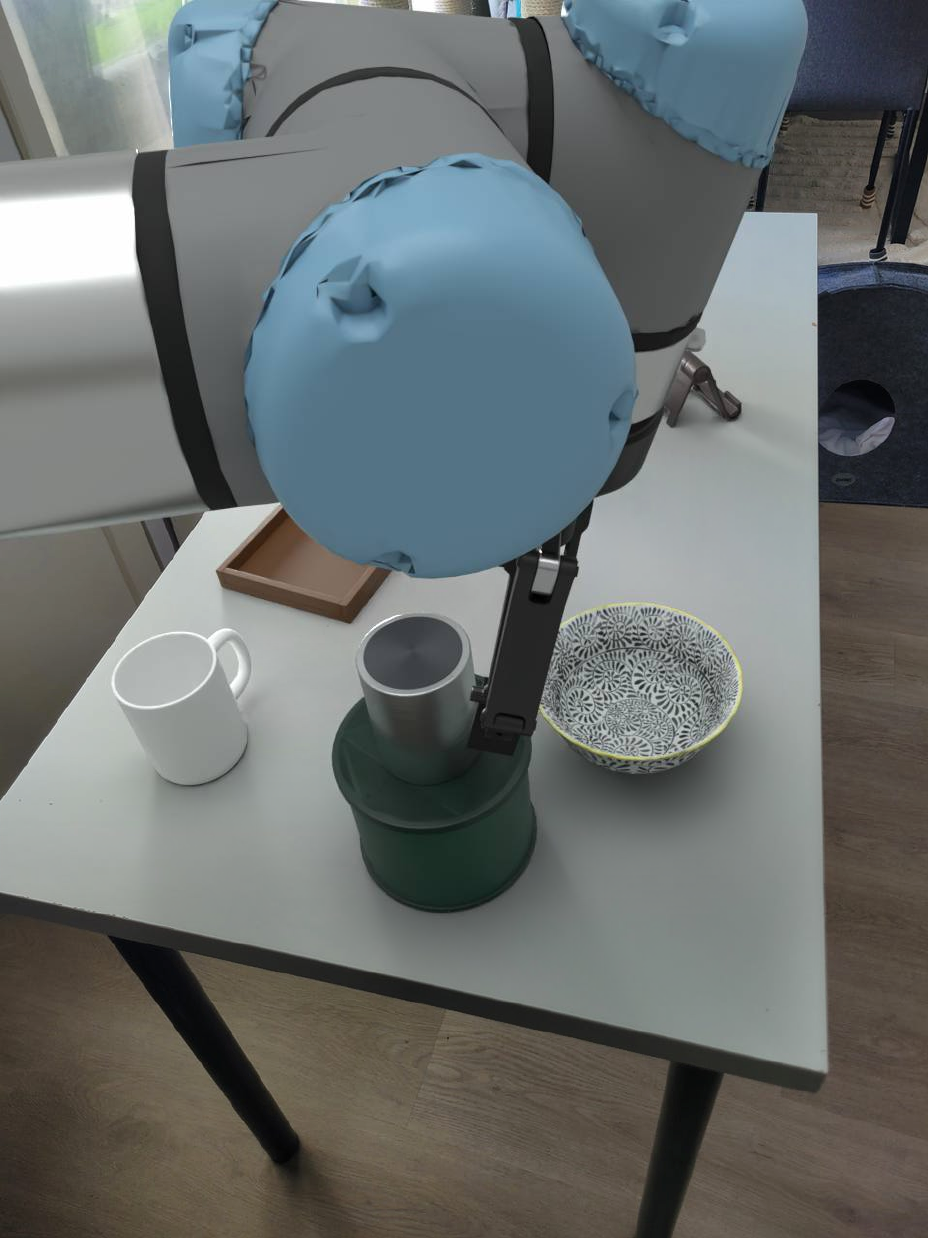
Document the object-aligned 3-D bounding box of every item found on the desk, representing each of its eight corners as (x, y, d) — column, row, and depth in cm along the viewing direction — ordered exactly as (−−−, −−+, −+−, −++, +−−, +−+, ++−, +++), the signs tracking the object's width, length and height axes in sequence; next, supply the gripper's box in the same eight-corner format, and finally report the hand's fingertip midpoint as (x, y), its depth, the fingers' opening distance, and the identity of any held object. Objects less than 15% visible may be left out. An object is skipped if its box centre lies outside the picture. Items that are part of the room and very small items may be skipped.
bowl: (724, 834, 68) (734, 774, 63) (515, 798, 73) (509, 738, 67) (739, 677, 79) (749, 614, 74) (556, 653, 83) (554, 591, 78)
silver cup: (359, 766, 63) (333, 676, 56) (409, 691, 67) (390, 600, 61) (454, 799, 60) (437, 709, 54) (500, 719, 64) (489, 626, 58)
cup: (133, 765, 79) (88, 686, 72) (227, 672, 86) (194, 591, 79) (204, 803, 75) (163, 723, 68) (296, 702, 82) (268, 621, 75)
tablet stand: (741, 419, 107) (749, 353, 101) (680, 437, 106) (685, 371, 100) (702, 385, 113) (708, 320, 107) (644, 401, 112) (647, 337, 106)
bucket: (326, 875, 69) (292, 788, 62) (412, 739, 78) (392, 649, 70) (492, 943, 64) (478, 858, 57) (565, 790, 73) (561, 698, 65)
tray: (221, 587, 95) (215, 570, 93) (303, 499, 104) (299, 482, 103) (350, 623, 89) (346, 606, 87) (425, 527, 98) (422, 510, 97)
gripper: (668, 625, 32) (546, 851, 50) (669, 234, 47) (575, 512, 64) (458, 586, 32) (408, 826, 49) (525, 205, 47) (469, 492, 64)
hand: (502, 649), depth 57 cm, fingers open, 13 cm apart
